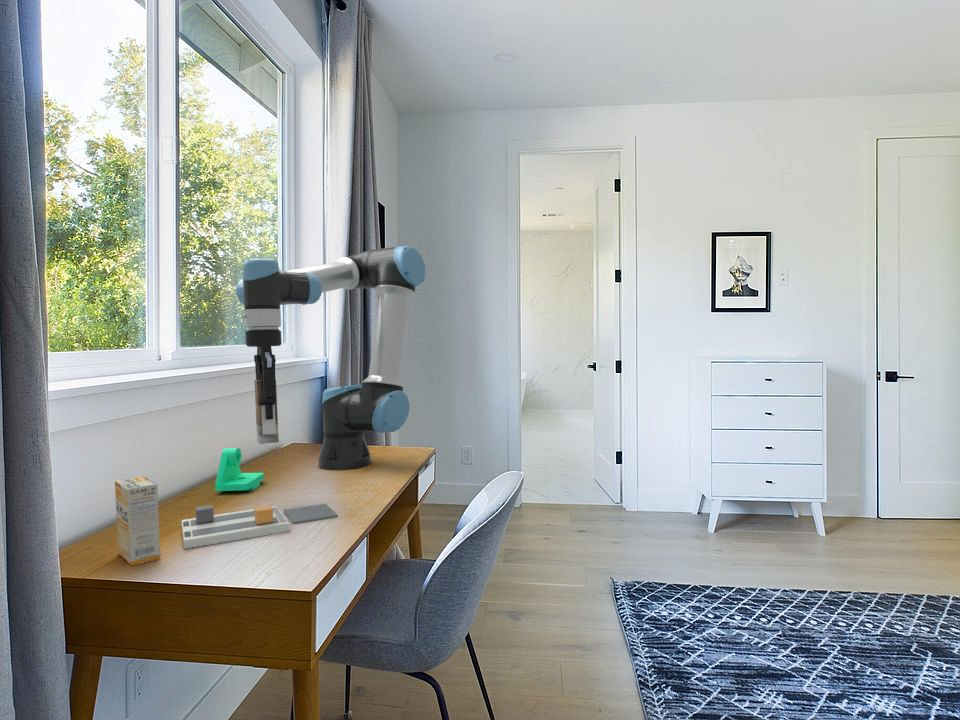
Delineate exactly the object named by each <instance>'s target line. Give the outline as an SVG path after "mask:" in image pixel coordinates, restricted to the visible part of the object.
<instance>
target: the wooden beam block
mask: <svg viewBox="0 0 960 720" xmlns="http://www.w3.org/2000/svg"><path fill="white" fill-rule="evenodd" d="M254 393H255V394H254V397H255V398H254V399H255V400H254V401H255V418H256V419H255V420H256V421H255V422H256V442H257V443H258V444H259V445H264V444H273V443H274V444H275V443H279V442H280V441H279V421H278V417H279V416H278V394H277V391H276V399H277V401H276V402H275V423H276V434H266V435H263V431H262V407H261V405H260V406H259V403H260V402H262V388H261V380H256V379H255V380H254Z"/></svg>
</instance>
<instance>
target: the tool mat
mask: <svg viewBox="0 0 960 720" xmlns="http://www.w3.org/2000/svg"><path fill="white" fill-rule="evenodd" d="M283 513H284V515H286V516H287V518H288V519H289V521H290V522H291V524H292V525H297V524H302V523H309V522H315V521H321V520H327V519H333V518H338V517H339V515H338V514H337V513H336V511H334V510H333V509H332V508H331V507H330V506H329V505H328V504H327V503H319V504H312V505H307V506H301V507H300V506H299V507H295V508H288V509H283Z"/></svg>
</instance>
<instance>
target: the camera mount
mask: <svg viewBox="0 0 960 720" xmlns="http://www.w3.org/2000/svg"><path fill="white" fill-rule="evenodd" d="M242 456H243V455H242V450H241V449H240V447H229V448H228V447H226V448H225V447H224V448H223V450H222V451H221V455H220V460H219V464H218V469H217V475H216V479H215V484H214V488H215V491H216V492H228V491H232V492H233V491H254V490H255V489H257V488H258V487H261V481H264V480H265V475H264V472H242V471H241V468H240V465H241V463H242Z"/></svg>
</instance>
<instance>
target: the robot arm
mask: <svg viewBox="0 0 960 720" xmlns="http://www.w3.org/2000/svg"><path fill="white" fill-rule="evenodd" d="M242 267H243V268H242V278H241V279H240V280H239V281H238V283H237V284H236V287H235V293H236V297H237V300H238V301H239V302H240V303H241V304H242V305H243V306H244V313H241V314H242V315H241V318H242V319H245V320H244V322H245V324H244V325H245V328H247V330H246V331H245V346H246V347H250V348H255V347H256V354H254V355H253V361H254V365H255V367H254V368H255V369H254V370H255V380H261V388H262V402H260V403H259V406H260V405H261V407H262V431H263V435H266V434H276V423H275V402H276V401H277V402H278V398H277V399H276V392H277V380H276V362H277V360H276V354H273V349H272V347H280V346H281V345H282V330H281V329H279V328H280V327H281V326H282V321H281V320H282V317H281V316H282V313H281V312H282V311H281V306H286V305H302V306H304V305H313V304H315V303H317V302H318V301H319V300H320V298H321V297H322V293H327V292H330V291H335V290H339V289H343V290H346V291H350V290H356V289H359V290H360V289H374V291H375V292H376V293H377V295H378V302H377V309H376V317H375V324H374V325H375V326H374V331H373V332H374V333H373V339H372V340H373V341H372V348H371V355H370V356H371V357H370V361H369V362H370V363H369V370H368V376H367V377H366V378H365V379H364V380H362V382H361V384H353V385H346V386H338V387H330V388H326V389H324V390H323V392H322V402H321V408H322V410H321V411H322V428H323V442H322V445H321V447H320V452H319V455H318V459H317V462H318V463H317V464H318V467H319V468H320V469H323V470H332V471H333V470H336V471H337V470H351V469H359V468H362V467H366V466H369V465H370V464H372V458H371V457H372V456H371V452H370V450H369V447H368V444H367V441H366V438H365V432H377V433H381V434H382V433H383V434H384V433H393V432H397V431H399V430H400V429H401V427H403V426H404V425H405V424H406V422H407V419H408V417H409V413H410V407H411V405H410V401H409V397H408V395H407V394H406V393H405V392H404V385H403V384H402V383H401V382H400V372H401V364H402V356H403V349H404V341H405V340H404V339H405V333H406V332H405V330H406V324H407V323H406V322H407V317H408V307H409V301H410V299H411V298H413V297H414V296H415V293H416V287H419V286H420V285H422V283H424V282H425V280H426V279H425V278H426V266H425V262H424V259H423V258H422V255H421V253H420V252H419V250H417V249H416V247H413V246H411V245H397V246H392V247H391V246H390V247H384V248H383V247H382V248H375V249H369V250H365V251H362V252H359V253H355V254H353V255H349V256H344V257H340V258H339V259H337V260H336V261H335V262H330V263H325V264H323V263H322V264H320V265H319V264H318V265H314V266H307V267H301V268H296V269H290V270H280V266H279V262H278V260H276V259H272V258H250V259H246V260H245V261H244V262H243V265H242Z"/></svg>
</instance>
